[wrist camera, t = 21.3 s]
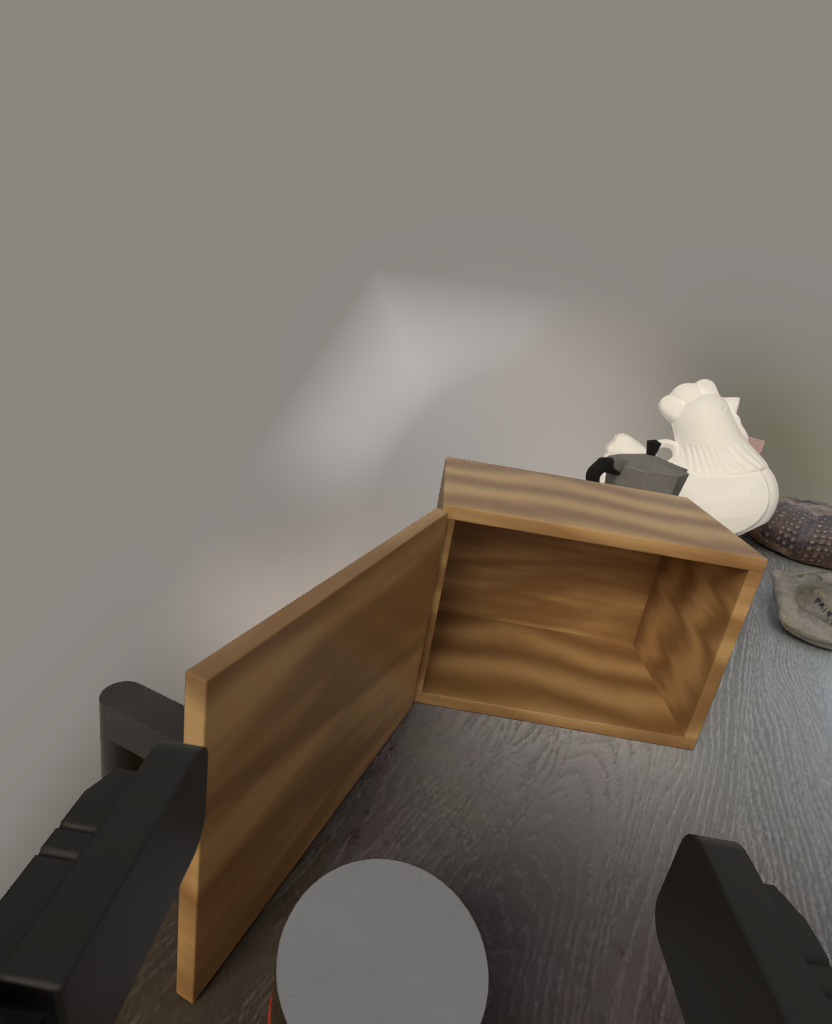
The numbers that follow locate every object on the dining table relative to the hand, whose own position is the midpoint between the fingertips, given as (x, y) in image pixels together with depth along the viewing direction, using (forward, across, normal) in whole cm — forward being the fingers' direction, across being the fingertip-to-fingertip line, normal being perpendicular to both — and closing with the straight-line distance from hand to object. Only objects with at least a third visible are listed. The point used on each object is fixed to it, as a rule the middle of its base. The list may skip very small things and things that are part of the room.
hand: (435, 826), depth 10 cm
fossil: (+53, -45, +20) cm, 72 cm away
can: (+4, 0, +19) cm, 19 cm away
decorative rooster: (+80, -39, +20) cm, 92 cm away
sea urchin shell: (+85, -64, +20) cm, 108 cm away
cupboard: (+36, -11, +20) cm, 43 cm away
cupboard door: (+19, +6, +20) cm, 28 cm away
